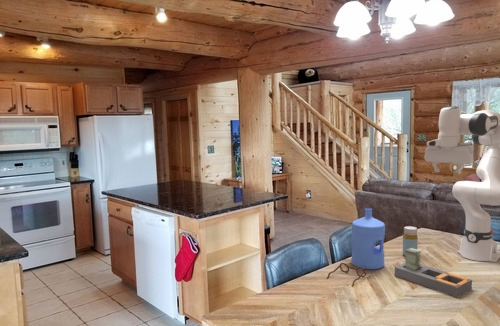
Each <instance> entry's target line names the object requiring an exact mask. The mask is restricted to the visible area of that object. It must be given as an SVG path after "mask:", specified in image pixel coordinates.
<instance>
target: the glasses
mask: <svg viewBox="0 0 500 326" xmlns="http://www.w3.org/2000/svg"><path fill="white" fill-rule="evenodd" d="M343 265H344V266H346V268H347V270H343V268H342V266H343ZM338 269H340V271H341V272H343V273H349V271H350V269H352V270H354V271H356V274H357V276H358V277H356V278H355V279H354V280H353V281H352V284H351V287H352V288H353V287H354V285H355V282H356V281H358V280H360V279H361V278H365V277H366V276H367V271H366V269H363V268H360V267H356V268H355V267H352V266H349V265H348V264H347V263H344V262H340V264H339V265H338V266H337V267H336V268H335V269H334V270H332V271H330V272H329V273H327V274H328V275H327V277H326V280H328V279H329V277H330V275H331V274H334V273H335V272H337V270H338ZM358 270H362V271H363V272H362V273H361V274H360V273H359V272H358Z"/></svg>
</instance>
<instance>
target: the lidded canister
mask: <svg viewBox="0 0 500 326" xmlns="http://www.w3.org/2000/svg"><path fill="white" fill-rule="evenodd" d="M417 232H418V228H417V227H416V226H410V225H408V226H404V227H403V234H402V255H403V257H405V256H406V250H407V249H410V248H413V249H417V250H418V238H419V237H418V233H417Z"/></svg>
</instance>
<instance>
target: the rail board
mask: <svg viewBox="0 0 500 326" xmlns="http://www.w3.org/2000/svg"><path fill="white" fill-rule="evenodd" d="M394 276H395V277H397V276H398V277H397V278H400V279H403V280H406V281H409V282H412V283H415V284H417V285H420V286H423V287H426V288H429V289H432V290H435V291H437V292H440V293H444V294H446V295H449V296H452V297H454V298H458V297H460V296H462V295H464V294H465V293H468V292H469V291H471V290H472V289H473V287H472V286H473V285H472V284H473V279H470V278H468V277H465V276H461V275H458V274H456V273H451V272H448V271H443V270H441V269H438V268H434V267H431V266H429V265H425V264H421V263H420V269H419V270H417V271H414V270H411V269H407V268H405V262H404V263H402V264H399V265H397V266H396V265H395V267H394Z"/></svg>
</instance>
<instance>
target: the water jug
mask: <svg viewBox="0 0 500 326" xmlns="http://www.w3.org/2000/svg"><path fill="white" fill-rule="evenodd" d="M364 210H365V212H364V213H365V214H364V216H363V217H360V218H358V219H355V220H353V221H352V223H351V234H352V235H351V264H352V265H353V266H354V267H356V268H358V267H360V268H363V269H364V270H379V269H381V268H383V267H384V266H385V250H384V245H385V244H384V240H385V236H386V225H385V223H384V222H383V221H381V220H379V219H377V218H374V217H373V215H372V214H373V212H372V210H373V208H370V207H367V208H364ZM378 241H379V247H378V246H376V245H375V242H378Z"/></svg>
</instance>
